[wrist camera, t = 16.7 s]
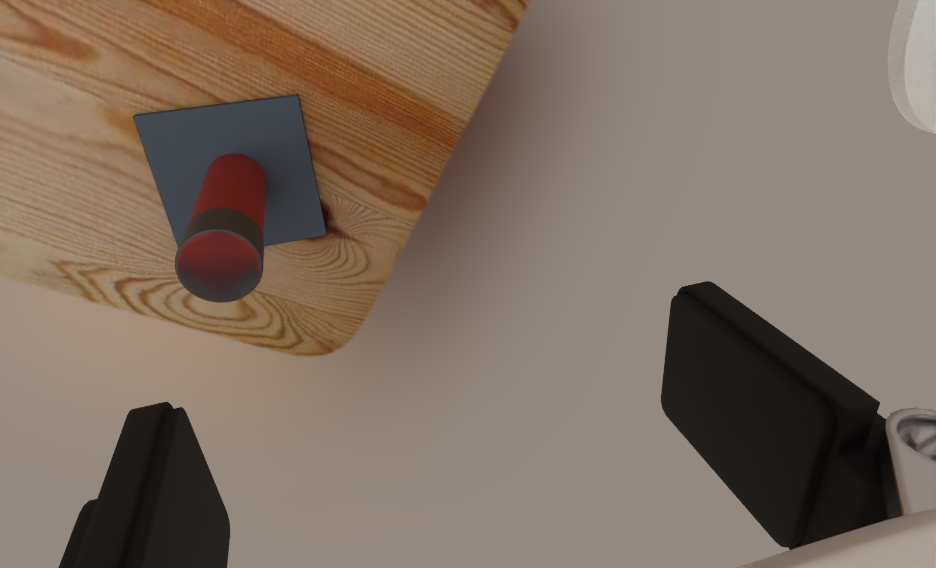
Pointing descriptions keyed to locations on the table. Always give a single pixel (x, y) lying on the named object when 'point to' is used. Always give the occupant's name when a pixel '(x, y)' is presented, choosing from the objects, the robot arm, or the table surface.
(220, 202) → the marker pen
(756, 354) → the robot arm
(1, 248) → the table surface
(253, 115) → the desk pad
